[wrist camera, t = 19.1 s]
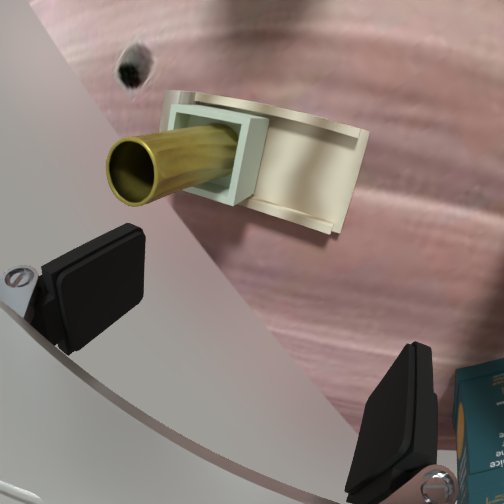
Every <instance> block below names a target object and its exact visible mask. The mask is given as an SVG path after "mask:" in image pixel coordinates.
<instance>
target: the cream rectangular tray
mask: <svg viewBox="0 0 504 504" xmlns="http://www.w3.org/2000/svg"><path fill="white" fill-rule="evenodd" d="M171 104H183V105H203V106H209V107H215V108H220V109H226V110H231V111H236V112H241V113H246V114H251V115H256V116H260V117H265V118H269V119H270V121H269V125H268V130H267V135H266V139H265V144H264V149H263V153H262V158H261V163H260V167H259V172H258V177H257V181H256V186H255V191H254V194H252V195H251V196H249V197H248V198H246V199H244V200H243V201H241V202H239V203H238V205H241V206H244V207H247V208H250V209H254V210H257V211H260V212H263V213H266V214H269V215H272V216H275V217H278V218H281V219H284V220H288V221H291V222H294V223H297V224H300V225H303V226H306V227H308V228H311V229H314V230H317V231H320V232H323V233H326V234H329V235H330V234H331V231H333V232H336V233H339V234H340V232H341V229H342V225H343V222H344V219H345V216H346V213H347V210H348V207H349V203H350V200H351V197H352V194H353V190H354V187H355V184H356V180H357V177H358V173H359V170H360V166H361V163H362V159H363V156H364V152H365V149H366V145H367V141H368V138H369V134H370V132H369V131H366V130H363V129H359V128H356V127H353V126H350V125H346V124H343V123H340V122H336V121H333V120H329V119H325V118H322V117H318V116H314V115H310V114H306V113H302V112H298V111H294V110H290V109H286V108H281V107H277V106H272V105H267V104H262V103H258V102H252V101H247V100H242V99H236V98H231V97H225V96H218V95H212V94H205V93H198V92H190V91H178V90H165V95H164V101H163V108H162V114H161V121H160V128H159V132H163V131H167V130H168V123H169V116H170V110H171Z"/></svg>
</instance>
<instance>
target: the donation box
mask: <svg viewBox="0 0 504 504" xmlns="http://www.w3.org/2000/svg"><path fill="white" fill-rule="evenodd" d="M453 428H454V429H455V433H456V448H457V471H458V472H457V476H458V477H457V478H458V485H459V495H458V498H457V504H504V358H503V359H499V360H495V361H491V362H487V363H483V364H479V365H475V366H470V367H465V368H461V369H456V378H455V395H454V408H453Z"/></svg>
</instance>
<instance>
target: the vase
mask: <svg viewBox="0 0 504 504" xmlns="http://www.w3.org/2000/svg"><path fill="white" fill-rule="evenodd" d="M238 141H239V137H238V135H237V134H236V133H235V131H234V130H233V129H232V128H230V127H229V126H227V125H224V124H221V123H211V124H208V125H205V126H194V127H188V128H181V129H175V130H169V131H163V132H157V133H152V134H146V135H141V136H133V137H127V138H122V139H120V140H119V141H117V142H116V143H115V144H114V145H113V146H112V148H111V149H110V152H109V154H108V157H107V161H106V175H107V179H108V183H109V186H110V188H111V190H112V192H113V194H114V195H115V196H116V198H117V199H119V200H120V201H121V202H123V203H124V204H126V205H128V206H132V207H136V206H141V205H144V204H148V203H150V202H153V201H155V200H157V199H160V198H162V197H165V196H167V195H170V194H172V193H175V192H177V191H180V190H183V189H186V188H189V187H192V186H195V185H198V184H201V183H204V182H207V181H211V180H214V179H217V178H220V177H226V176H228V175H230V174H231V173H232V172H233V167H234V161H235V156H236V151H237V146H238Z"/></svg>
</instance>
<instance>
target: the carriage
mask: <svg viewBox="0 0 504 504" xmlns="http://www.w3.org/2000/svg"><path fill="white" fill-rule="evenodd" d="M269 121H270V119H269V118H265V117H260V116H256V115H251V114H246V113H241V112H236V111H231V110H226V109H220V108H215V107H209V106H203V105H183V104H171V110H170V116H169V123H168V130H167V131H169V130H175V129H181V128H188V127H194V126H205V125H208V124H211V123H221V124H224V125H227V126H229V127H230V128H232V129H233V130H234V131H235V133H236V134H237V135H238V137H239V141H238V146H237V151H236V156H235V161H234V167H233V172H232V173H231V174H230V175H228V176H226V177H220V178H217V179H214V180H211V181H207V182H204V183H201V184H198V185H195V186H192V187H189V188H186V189H183V190H182V191H185V192H189V193H192V194H195V195H199V196H202V197H205V198H208V199H212V200H215V201H218V202H221V203H224V204H228V205H231V206H235V205H236V204H238V203H239V202H241V201H243V200H244V199H246V198H248V197H249V196H251V195H252V194H254V191H255V186H256V181H257V177H258V172H259V167H260V163H261V158H262V153H263V149H264V144H265V139H266V135H267V130H268V125H269Z"/></svg>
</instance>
